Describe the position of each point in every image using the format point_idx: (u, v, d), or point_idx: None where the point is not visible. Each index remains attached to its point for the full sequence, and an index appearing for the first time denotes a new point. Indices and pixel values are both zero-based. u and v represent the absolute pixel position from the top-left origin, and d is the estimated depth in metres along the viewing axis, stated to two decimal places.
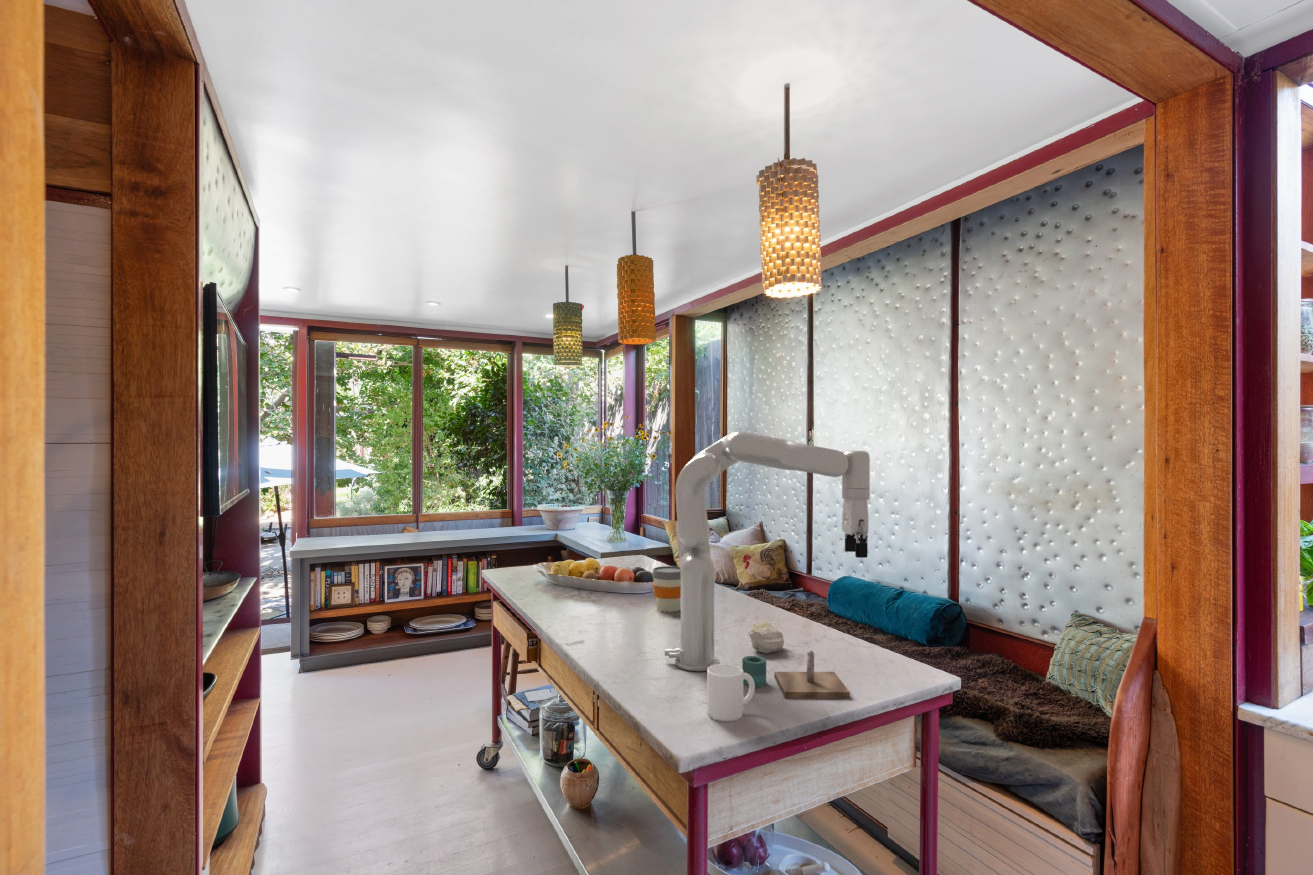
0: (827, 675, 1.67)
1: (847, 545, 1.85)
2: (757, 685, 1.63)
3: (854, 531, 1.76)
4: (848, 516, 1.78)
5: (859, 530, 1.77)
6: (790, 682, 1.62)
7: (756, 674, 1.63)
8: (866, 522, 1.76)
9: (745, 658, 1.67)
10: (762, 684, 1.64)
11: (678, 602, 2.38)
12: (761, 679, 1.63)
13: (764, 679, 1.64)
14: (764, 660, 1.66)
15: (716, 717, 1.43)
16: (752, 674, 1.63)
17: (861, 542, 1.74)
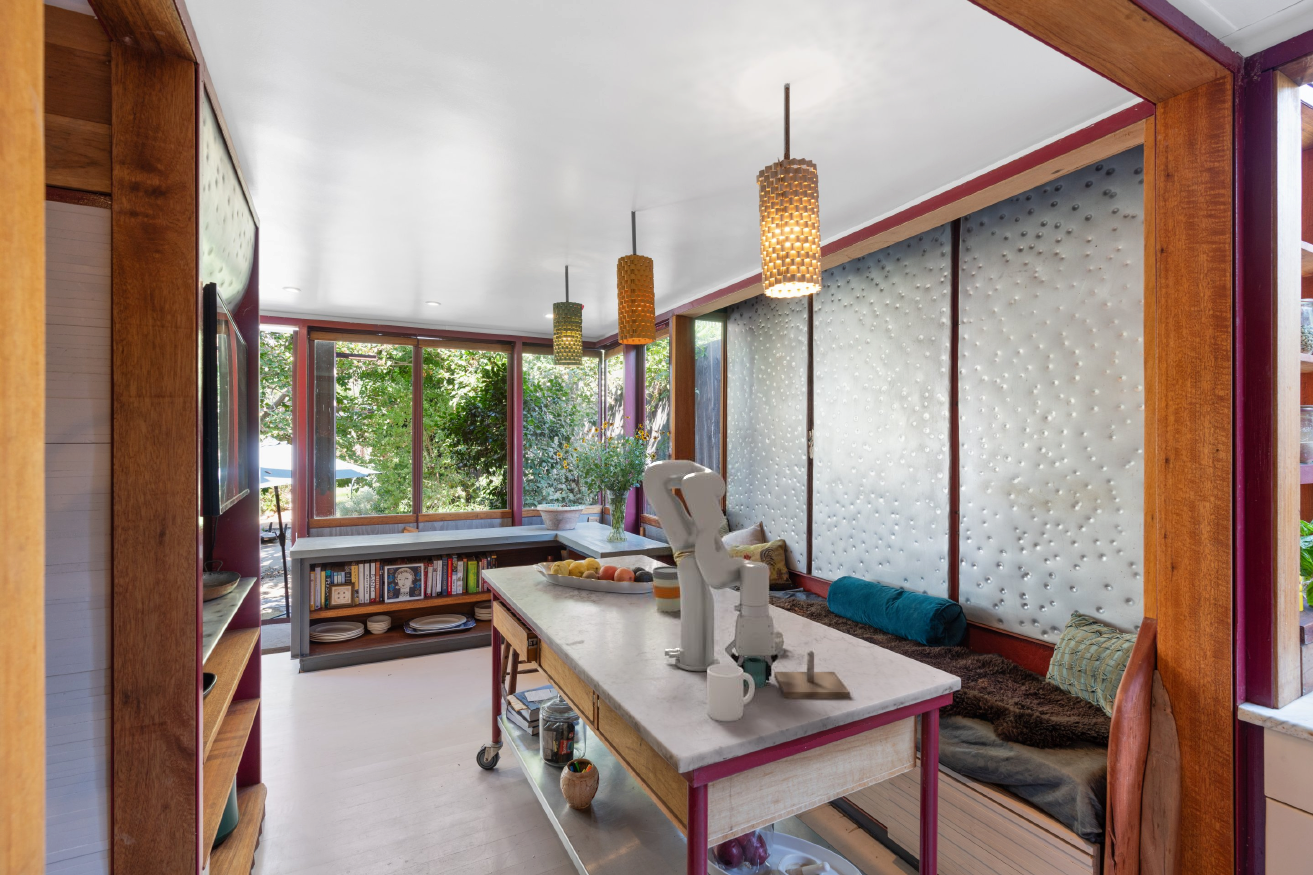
0: (827, 675, 1.67)
1: None
2: (757, 685, 1.63)
3: (774, 650, 1.64)
4: (764, 636, 1.63)
5: None
6: (790, 682, 1.62)
7: (756, 674, 1.63)
8: None
9: (745, 658, 1.67)
10: (762, 684, 1.64)
11: (678, 602, 2.38)
12: (761, 679, 1.63)
13: (764, 679, 1.64)
14: (764, 660, 1.66)
15: (716, 717, 1.43)
16: (752, 674, 1.63)
17: None
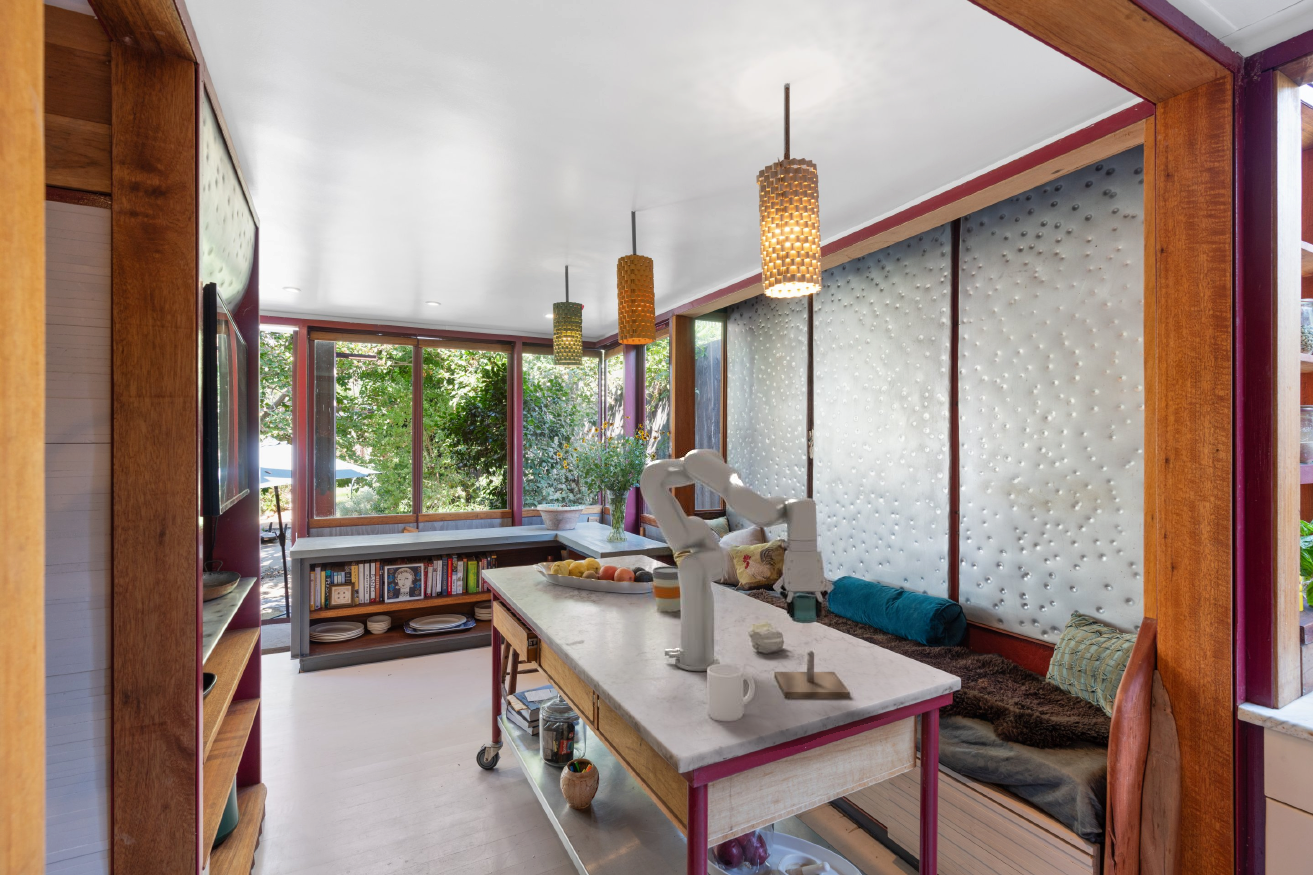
0: (827, 675, 1.67)
1: None
2: (808, 621, 1.60)
3: (824, 586, 1.62)
4: (814, 571, 1.61)
5: None
6: (790, 682, 1.62)
7: (806, 610, 1.60)
8: None
9: (794, 595, 1.64)
10: (812, 620, 1.61)
11: (678, 602, 2.38)
12: (812, 615, 1.61)
13: (814, 615, 1.61)
14: (814, 596, 1.63)
15: (716, 717, 1.43)
16: (802, 610, 1.60)
17: None
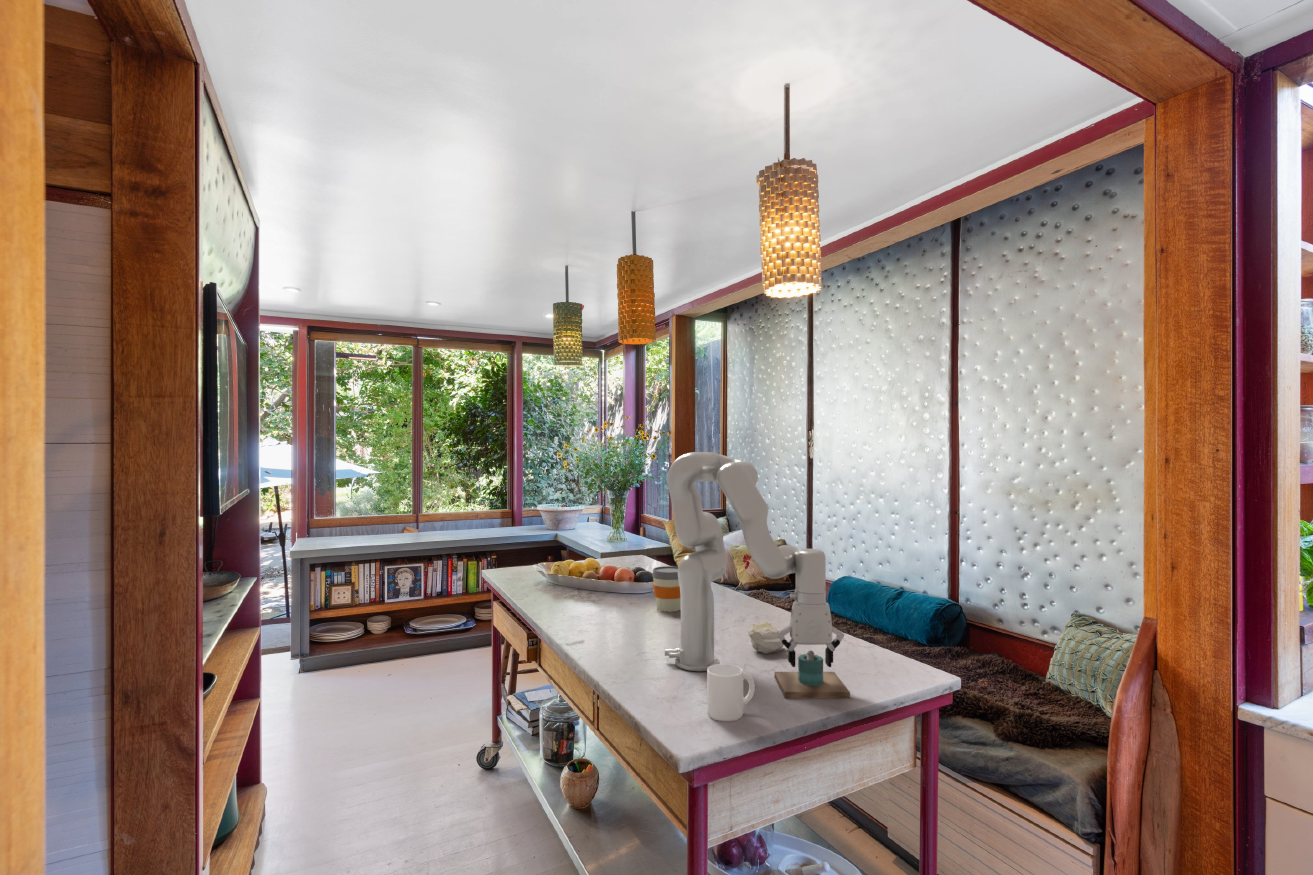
0: (827, 675, 1.67)
1: (794, 659, 1.62)
2: (815, 684, 1.60)
3: None
4: (822, 624, 1.61)
5: None
6: (790, 682, 1.62)
7: (814, 673, 1.60)
8: None
9: (801, 656, 1.64)
10: (819, 682, 1.61)
11: (678, 602, 2.38)
12: (819, 678, 1.60)
13: (821, 678, 1.61)
14: (821, 658, 1.63)
15: (716, 717, 1.43)
16: (810, 673, 1.60)
17: None
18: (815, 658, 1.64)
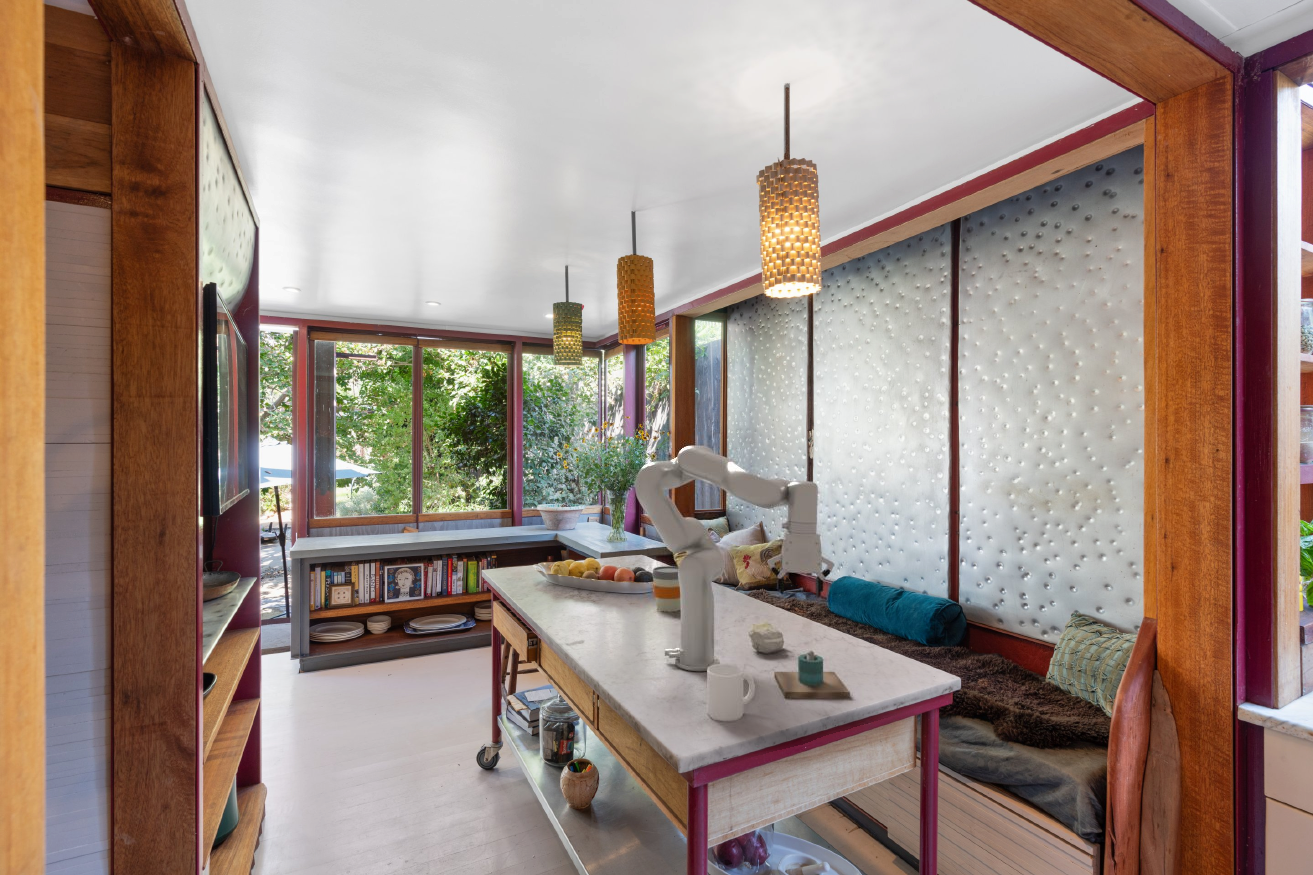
0: (827, 675, 1.67)
1: None
2: (815, 684, 1.60)
3: None
4: (812, 553, 1.64)
5: None
6: (790, 682, 1.62)
7: (814, 673, 1.60)
8: None
9: (801, 656, 1.64)
10: (819, 682, 1.61)
11: (678, 602, 2.38)
12: (819, 678, 1.60)
13: (821, 678, 1.61)
14: (821, 658, 1.63)
15: (716, 717, 1.43)
16: (810, 673, 1.60)
17: None
18: (815, 658, 1.64)
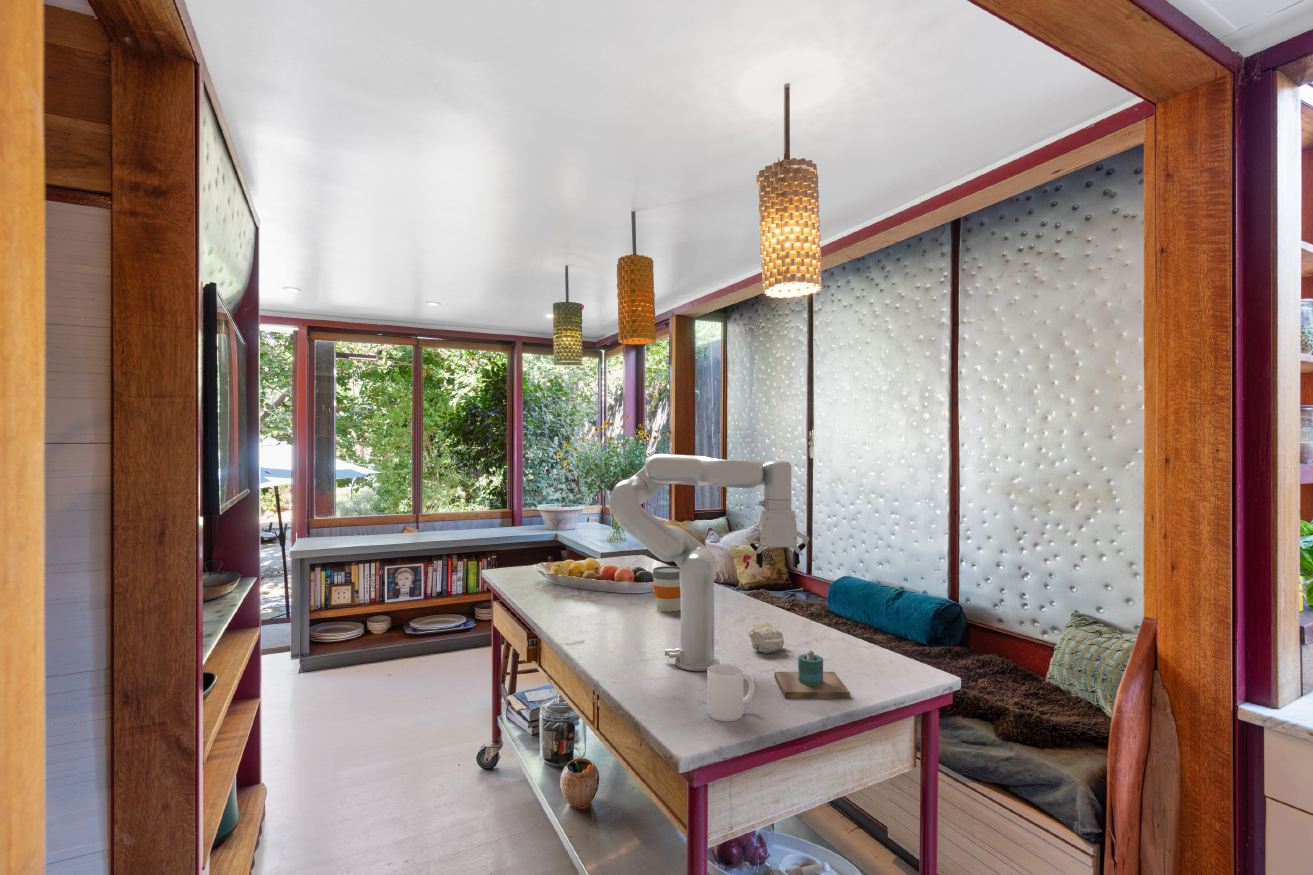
0: (827, 675, 1.67)
1: None
2: (815, 684, 1.60)
3: None
4: (787, 528, 1.74)
5: None
6: (790, 682, 1.62)
7: (814, 673, 1.60)
8: None
9: (801, 656, 1.64)
10: (819, 682, 1.61)
11: (678, 602, 2.38)
12: (819, 678, 1.60)
13: (821, 678, 1.61)
14: (821, 658, 1.63)
15: (716, 717, 1.43)
16: (810, 673, 1.60)
17: None
18: (815, 658, 1.64)
